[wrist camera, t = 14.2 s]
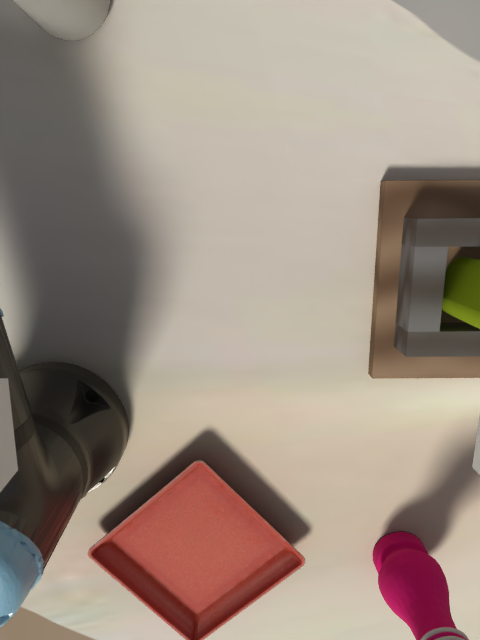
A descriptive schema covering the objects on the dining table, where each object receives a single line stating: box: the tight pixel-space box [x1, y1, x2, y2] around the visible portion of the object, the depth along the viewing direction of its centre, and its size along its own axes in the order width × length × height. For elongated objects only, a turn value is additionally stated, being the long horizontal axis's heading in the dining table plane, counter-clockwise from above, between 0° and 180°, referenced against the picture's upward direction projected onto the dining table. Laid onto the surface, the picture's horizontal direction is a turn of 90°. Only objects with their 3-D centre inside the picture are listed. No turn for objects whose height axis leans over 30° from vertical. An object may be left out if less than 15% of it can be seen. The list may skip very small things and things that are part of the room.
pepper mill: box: [373, 532, 469, 640], centre depth 45 cm, size 7×7×20 cm
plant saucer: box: [88, 460, 305, 640], centre depth 53 cm, size 18×18×3 cm
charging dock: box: [368, 180, 480, 378], centre depth 45 cm, size 20×16×5 cm
